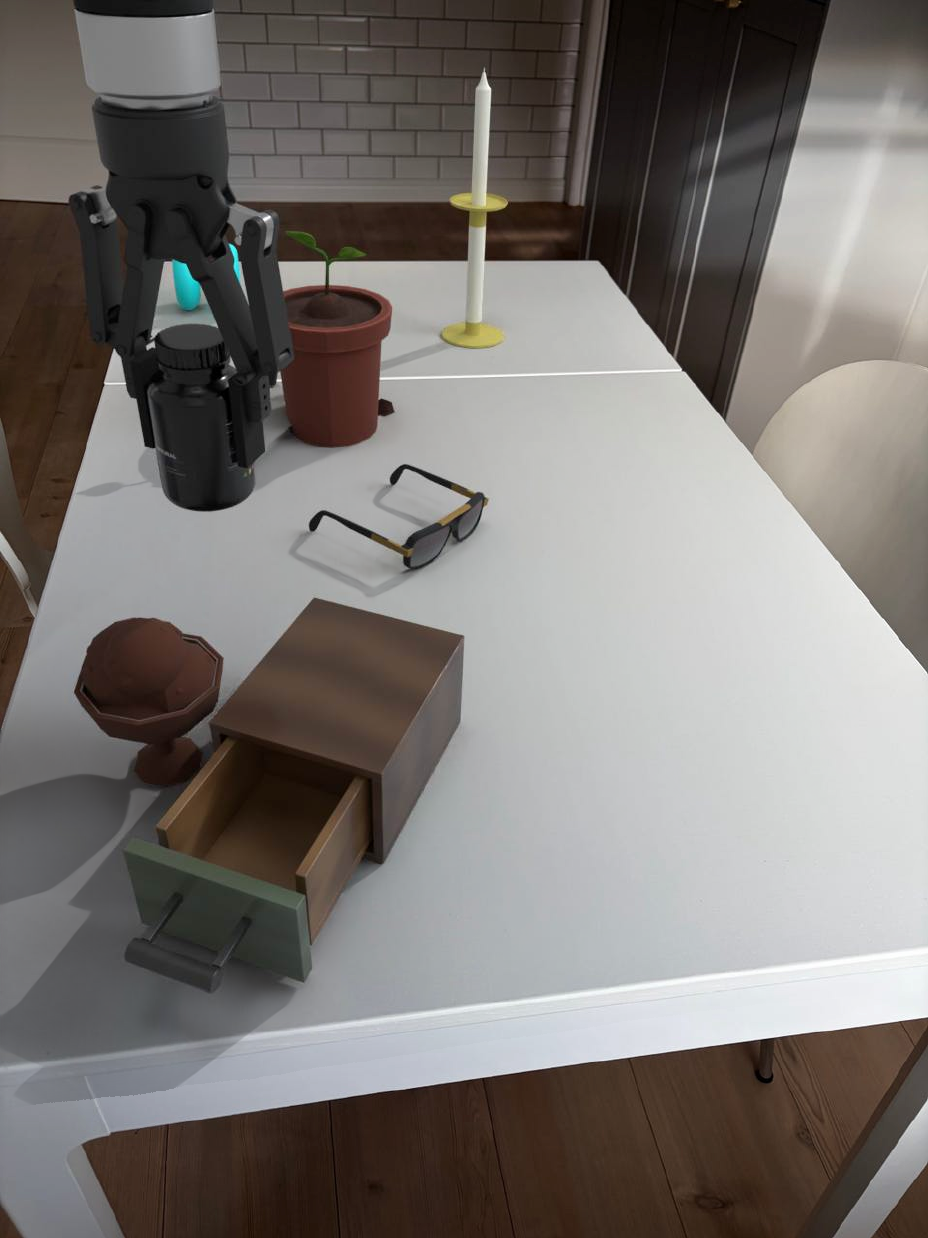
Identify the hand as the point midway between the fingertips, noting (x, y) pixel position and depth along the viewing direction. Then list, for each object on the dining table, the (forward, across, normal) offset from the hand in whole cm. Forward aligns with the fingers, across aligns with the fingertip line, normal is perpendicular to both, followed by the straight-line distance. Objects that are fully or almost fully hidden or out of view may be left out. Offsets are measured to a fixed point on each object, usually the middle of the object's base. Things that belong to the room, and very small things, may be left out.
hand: (205, 448), depth 72 cm
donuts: (+25, +52, -83) cm, 101 cm away
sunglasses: (+25, -2, -32) cm, 41 cm away
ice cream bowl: (+25, +2, +8) cm, 27 cm away
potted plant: (+25, +17, -54) cm, 62 cm away
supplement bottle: (+4, 0, 0) cm, 4 cm away
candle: (+25, +8, -89) cm, 93 cm away
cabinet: (+25, -12, +3) cm, 28 cm away
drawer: (+24, -12, +18) cm, 32 cm away
